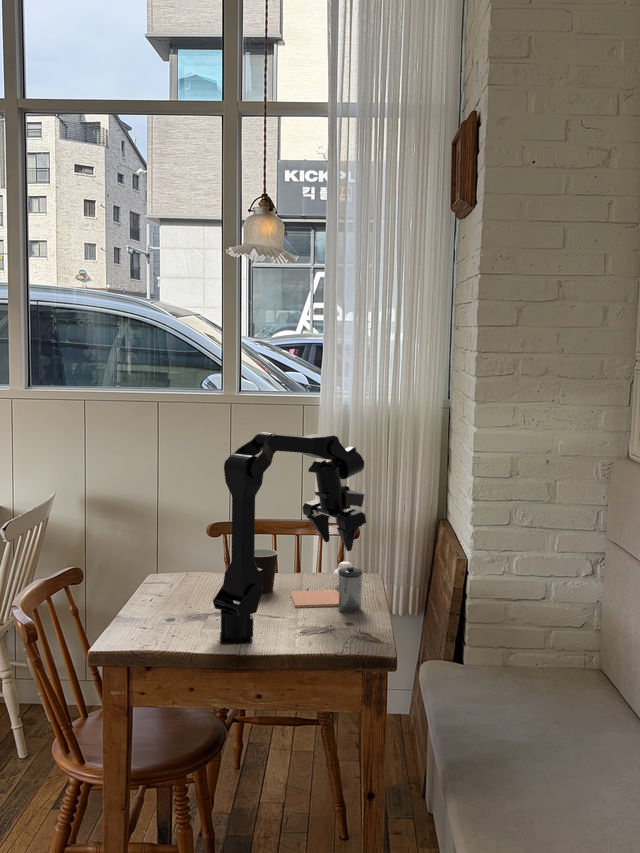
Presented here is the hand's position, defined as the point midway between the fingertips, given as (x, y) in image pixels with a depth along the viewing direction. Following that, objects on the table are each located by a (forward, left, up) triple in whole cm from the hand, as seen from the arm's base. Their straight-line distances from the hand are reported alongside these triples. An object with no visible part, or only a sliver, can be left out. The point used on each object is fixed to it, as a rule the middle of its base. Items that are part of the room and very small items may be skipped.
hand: (338, 546), depth 202 cm
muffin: (+5, +17, -15) cm, 24 cm away
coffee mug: (-17, +17, -15) cm, 29 cm away
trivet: (-4, +6, -15) cm, 17 cm away
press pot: (+3, -3, -15) cm, 16 cm away
